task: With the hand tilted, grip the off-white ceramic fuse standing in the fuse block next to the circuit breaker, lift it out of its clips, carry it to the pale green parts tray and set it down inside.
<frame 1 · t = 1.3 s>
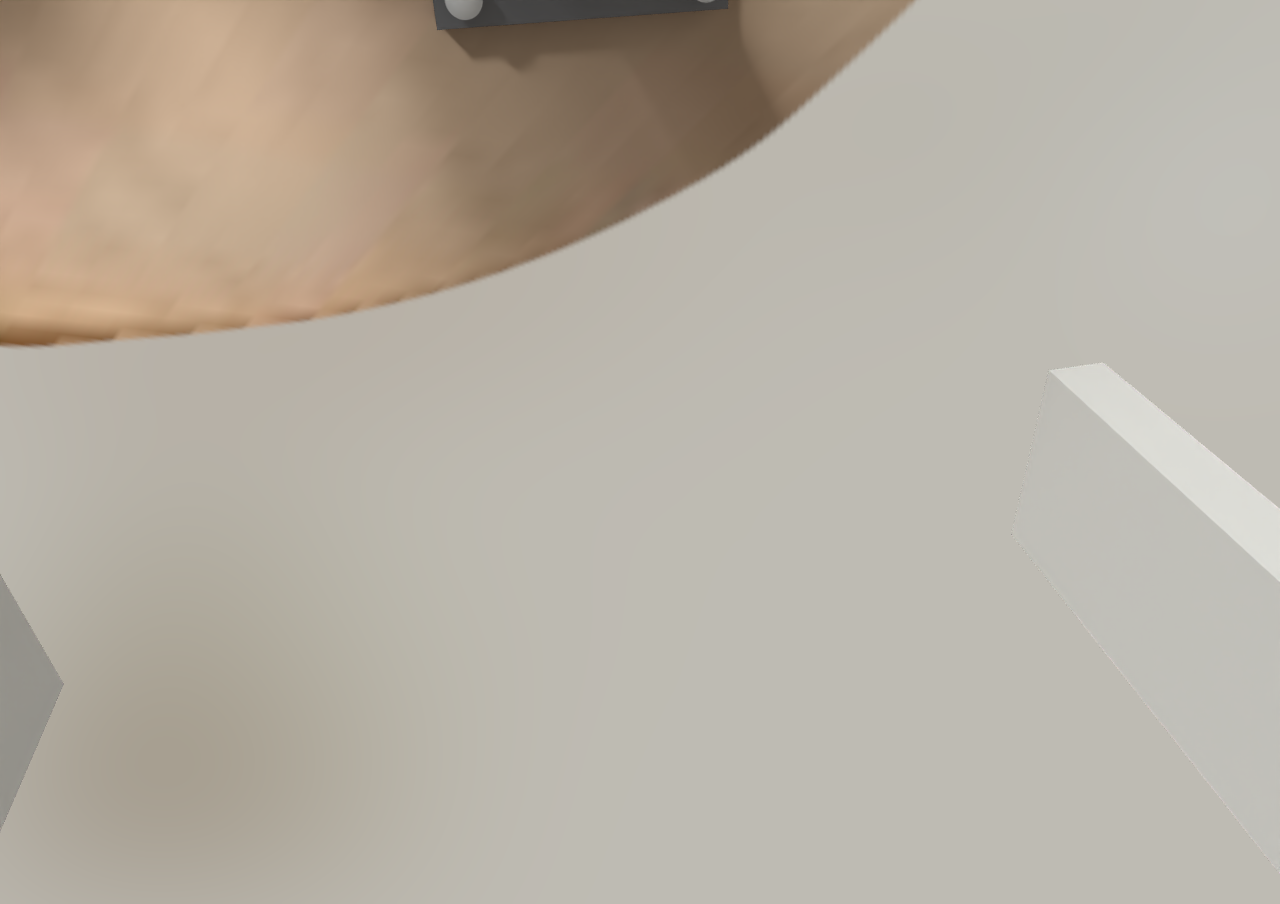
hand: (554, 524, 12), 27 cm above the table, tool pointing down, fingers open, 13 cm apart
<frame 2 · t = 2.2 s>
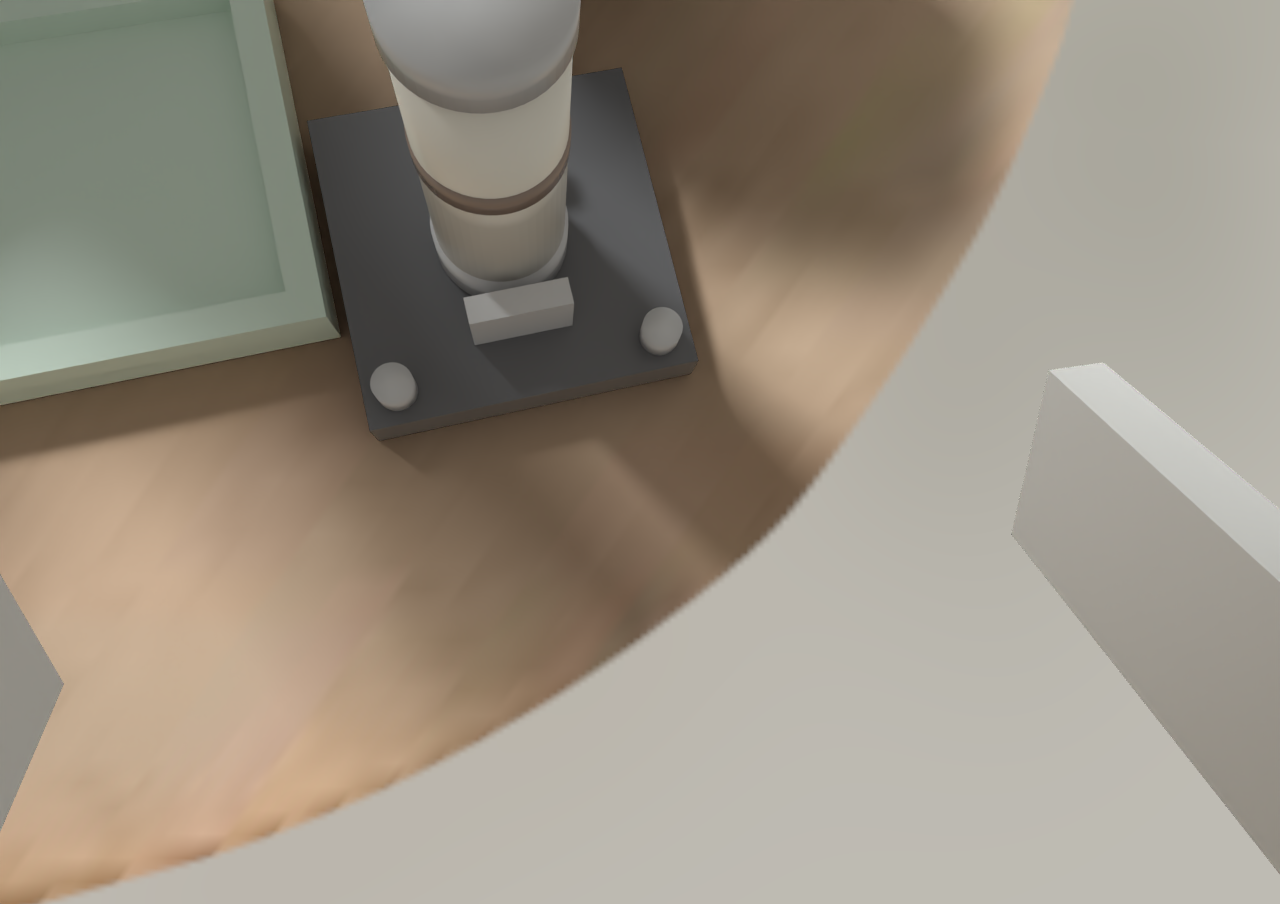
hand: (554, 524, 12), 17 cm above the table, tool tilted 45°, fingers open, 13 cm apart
fuse: (501, 240, 29), point 2 cm above the table, touching fuse block
tray: (112, 195, 30), on the table
fuse block: (504, 258, 30), on the table
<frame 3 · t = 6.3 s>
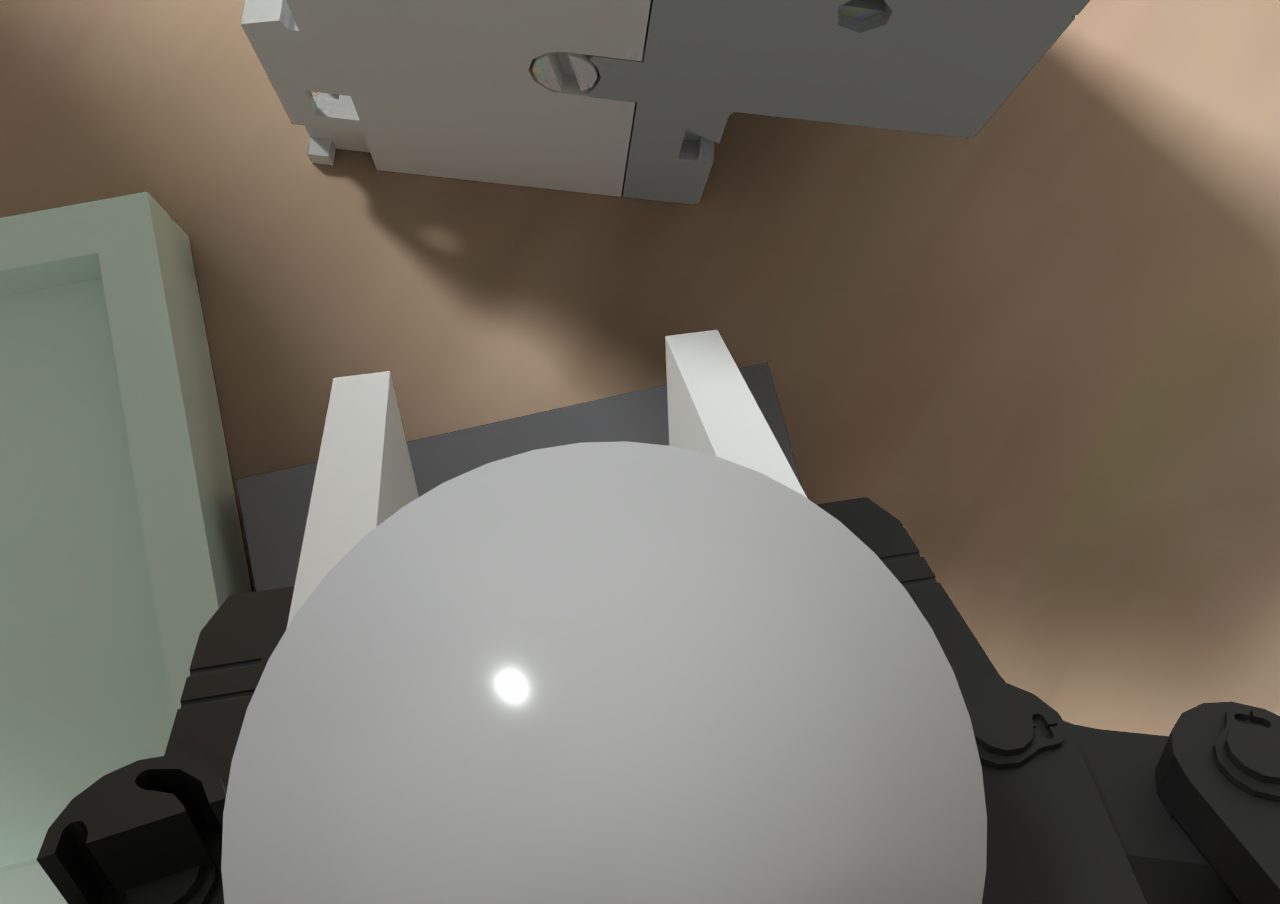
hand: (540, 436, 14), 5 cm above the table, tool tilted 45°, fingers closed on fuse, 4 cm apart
fuse: (573, 688, 17), point 1 cm above the table, touching fuse block, gripper
circuit breaker: (662, 49, 21), on the table
fuse block: (572, 683, 18), on the table
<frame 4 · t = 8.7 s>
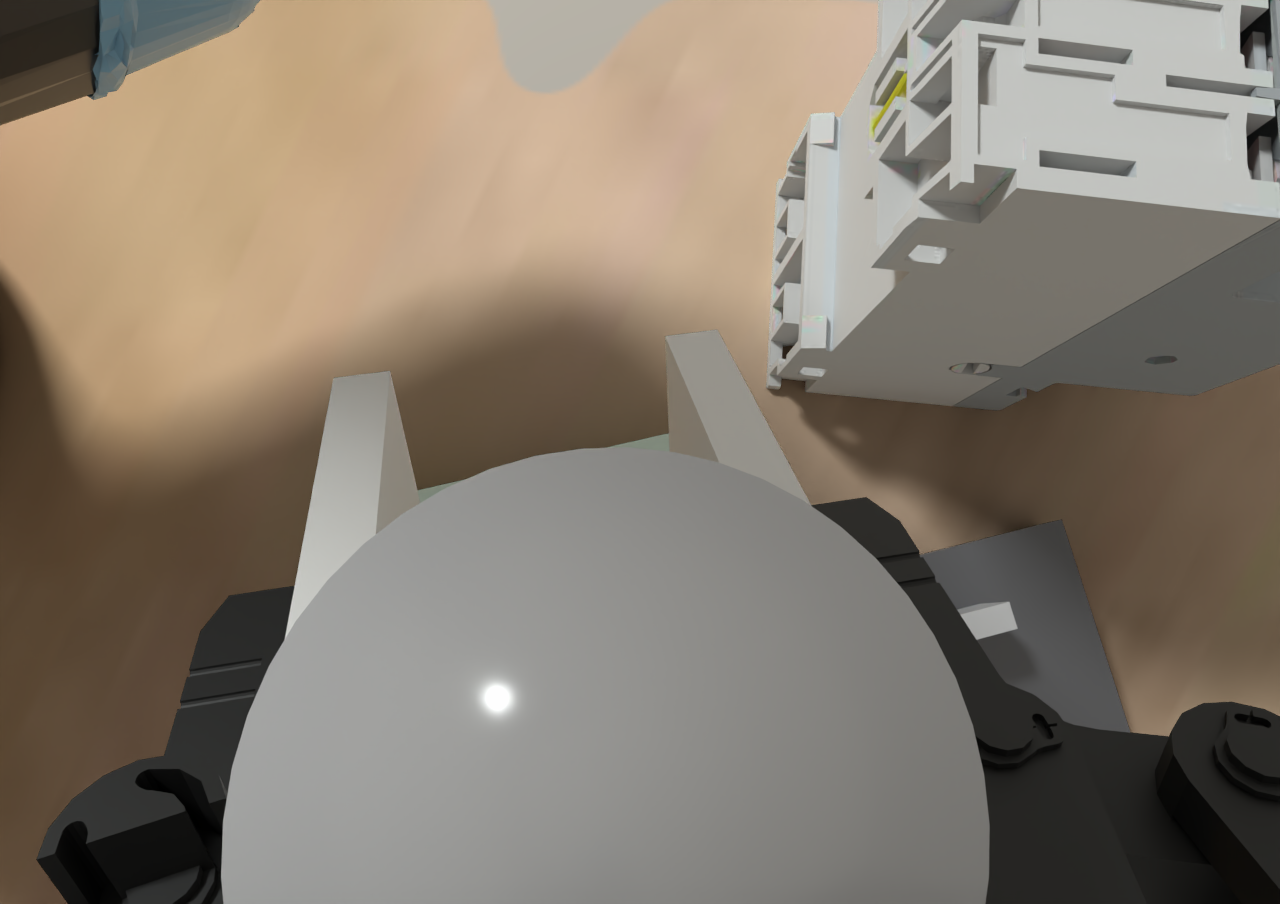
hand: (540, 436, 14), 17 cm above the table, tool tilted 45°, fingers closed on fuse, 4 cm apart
fuse: (573, 690, 17), point 13 cm above the table, touching gripper
circuit breaker: (968, 306, 33), on the table
tray: (563, 661, 30), on the table
fuse block: (944, 711, 30), on the table
when the fingers open (6 cm above the table, at t = 11.3 s): fuse drops 1 cm, resting on tray.
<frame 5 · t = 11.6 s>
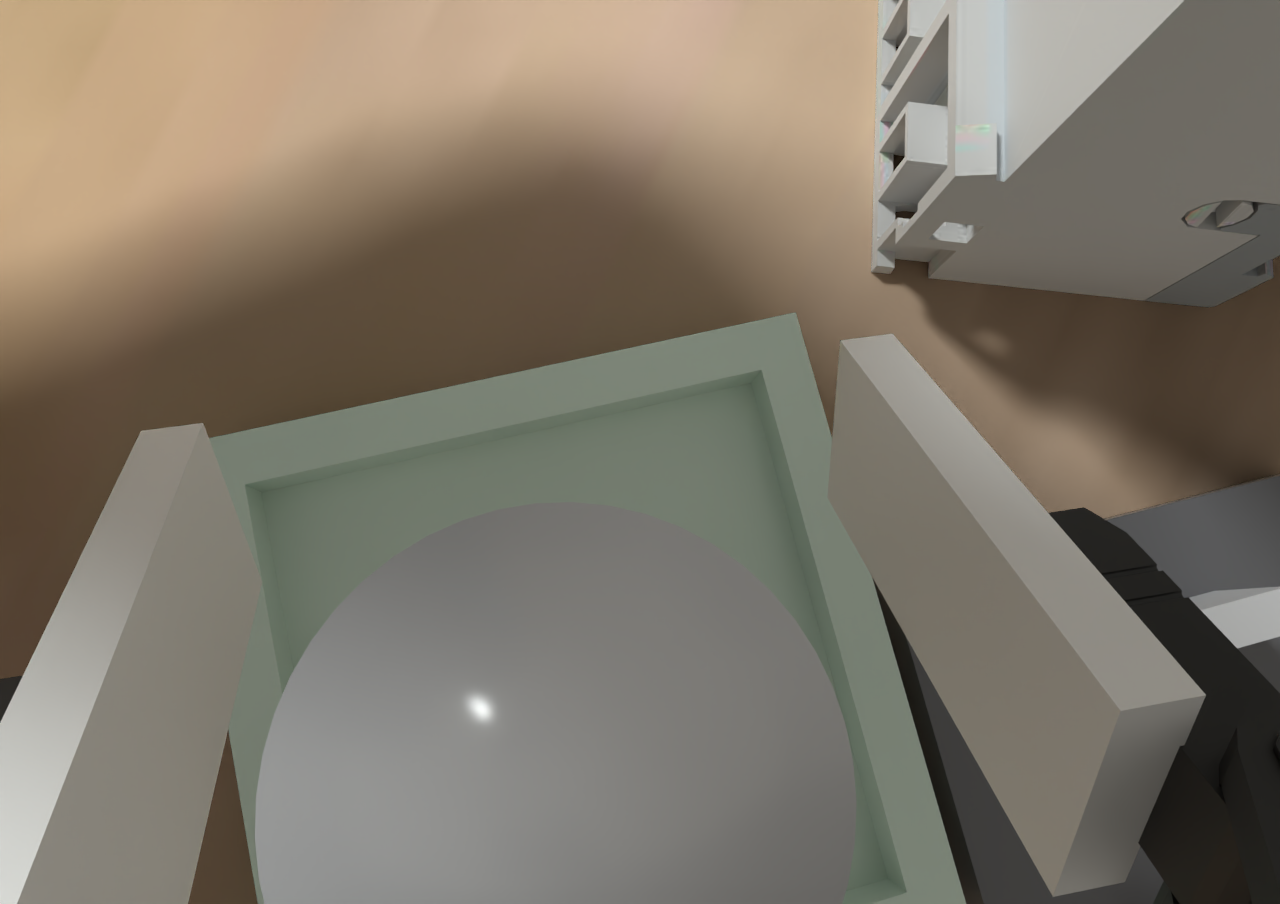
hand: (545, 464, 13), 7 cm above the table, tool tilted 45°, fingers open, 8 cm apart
fuse: (572, 687, 18), point 1 cm above the table, touching tray
circuit breaker: (1159, 160, 23), on the table
tray: (571, 681, 19), on the table
fuse block: (1152, 755, 20), on the table
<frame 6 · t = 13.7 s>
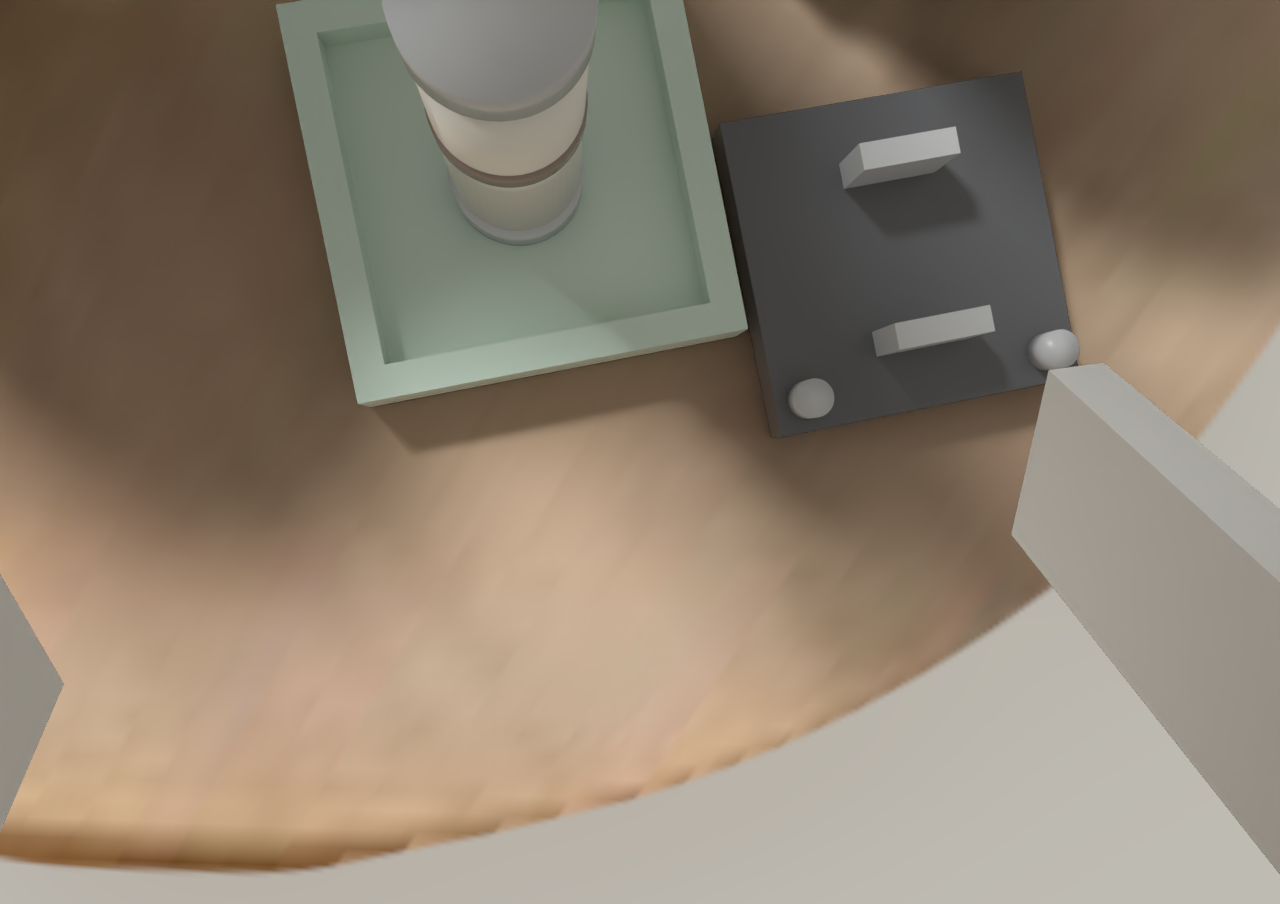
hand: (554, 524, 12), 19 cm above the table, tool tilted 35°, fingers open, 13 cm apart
fuse: (518, 181, 29), point 1 cm above the table, touching tray
tray: (519, 188, 30), on the table
fuse block: (886, 261, 31), on the table
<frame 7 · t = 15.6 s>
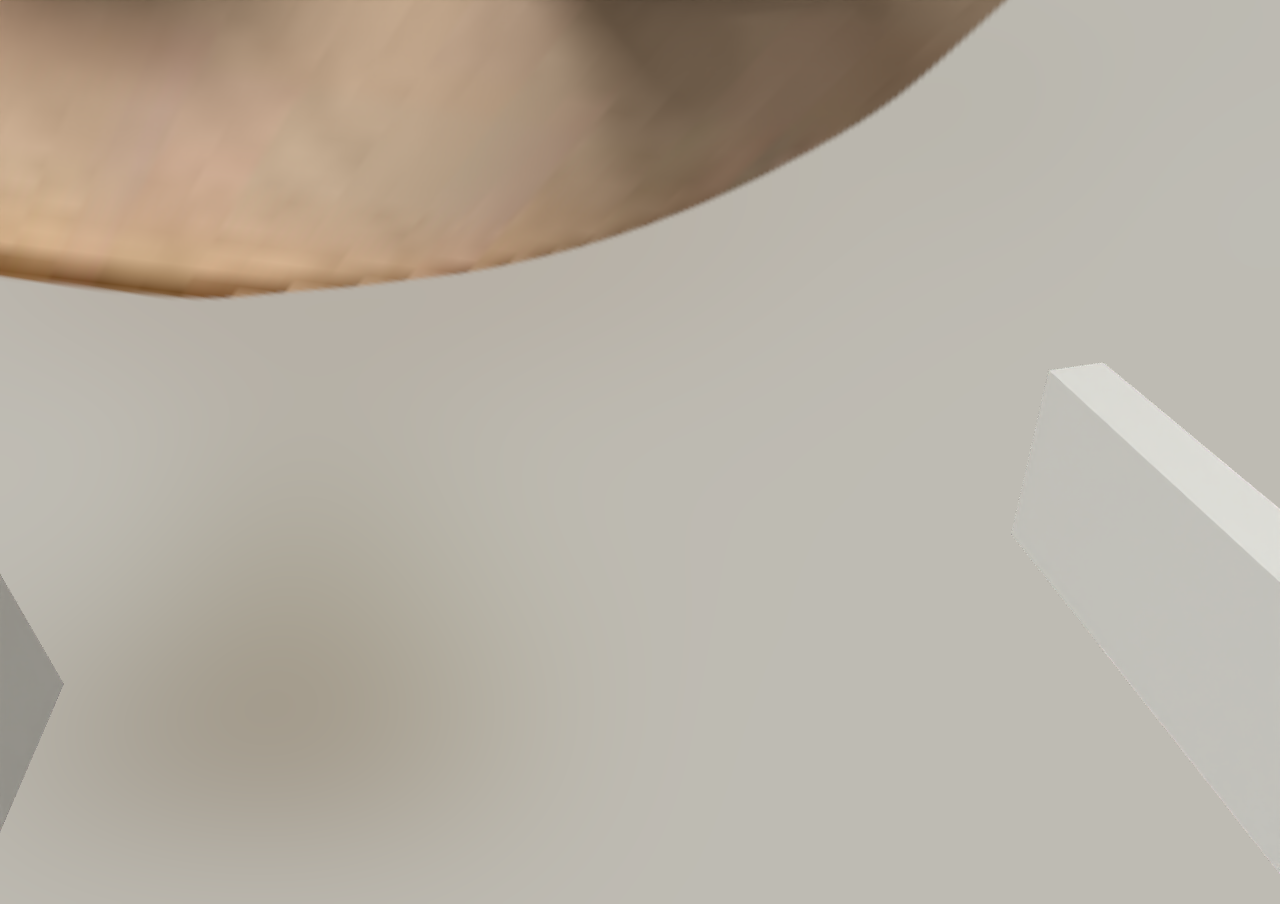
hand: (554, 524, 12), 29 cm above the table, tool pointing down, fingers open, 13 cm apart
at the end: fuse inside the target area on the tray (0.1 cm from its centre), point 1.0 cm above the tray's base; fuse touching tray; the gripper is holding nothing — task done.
